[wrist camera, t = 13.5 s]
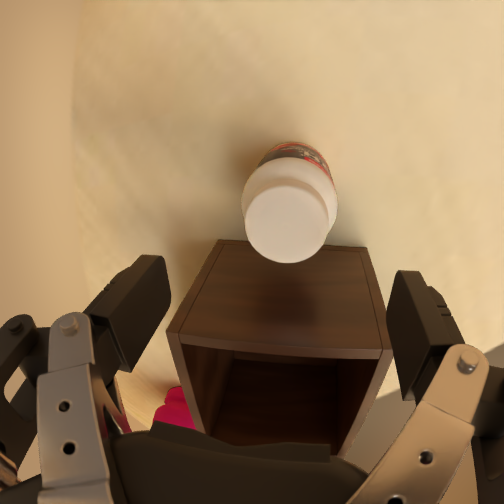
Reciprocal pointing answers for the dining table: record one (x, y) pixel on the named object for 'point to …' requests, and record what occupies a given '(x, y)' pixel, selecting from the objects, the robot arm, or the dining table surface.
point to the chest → (282, 346)
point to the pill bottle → (289, 203)
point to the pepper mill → (175, 409)
